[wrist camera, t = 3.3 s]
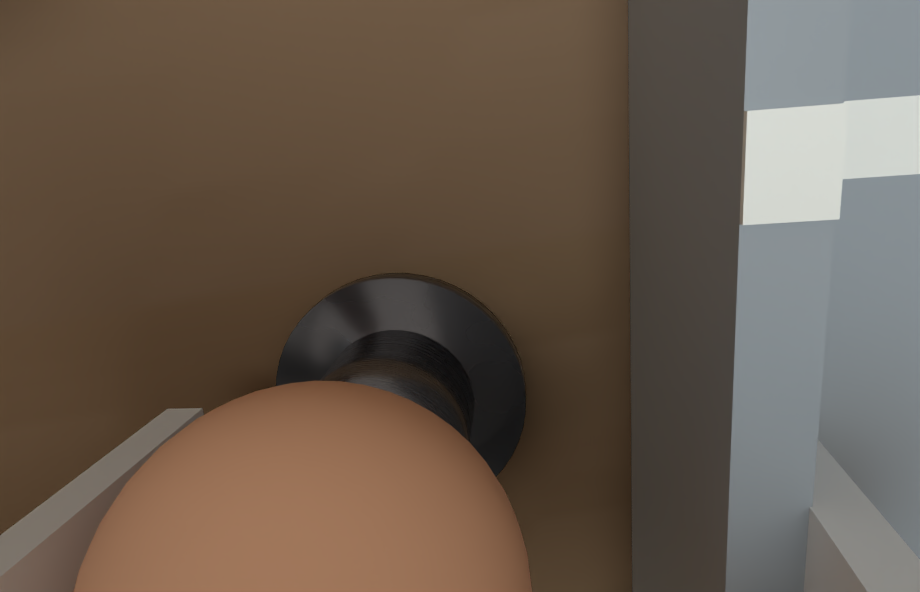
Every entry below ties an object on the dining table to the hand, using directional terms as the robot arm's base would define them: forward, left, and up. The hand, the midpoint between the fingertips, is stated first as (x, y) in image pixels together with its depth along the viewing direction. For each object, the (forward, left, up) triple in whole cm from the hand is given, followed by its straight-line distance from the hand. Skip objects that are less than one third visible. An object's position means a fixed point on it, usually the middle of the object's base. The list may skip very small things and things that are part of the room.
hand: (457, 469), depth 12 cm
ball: (-2, 0, 0) cm, 2 cm away
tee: (-2, 0, -4) cm, 4 cm away
